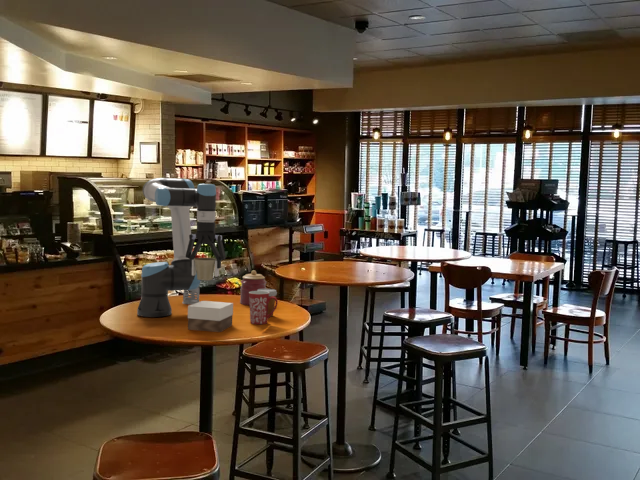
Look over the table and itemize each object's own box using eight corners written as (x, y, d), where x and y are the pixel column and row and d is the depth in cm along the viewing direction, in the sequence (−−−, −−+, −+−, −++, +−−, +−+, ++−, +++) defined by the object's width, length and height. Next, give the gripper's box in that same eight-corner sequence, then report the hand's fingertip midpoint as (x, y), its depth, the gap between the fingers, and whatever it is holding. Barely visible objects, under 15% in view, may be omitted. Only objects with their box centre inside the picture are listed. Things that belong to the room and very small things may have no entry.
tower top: (187, 318, 259) (187, 306, 259) (202, 312, 273) (202, 300, 273) (219, 320, 256) (219, 308, 256) (232, 314, 269) (233, 303, 269)
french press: (199, 305, 314) (200, 255, 312) (175, 304, 314) (176, 254, 312) (203, 302, 324) (203, 253, 322) (180, 301, 324) (181, 252, 322)
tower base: (188, 330, 259) (188, 318, 259) (201, 323, 273) (201, 312, 273) (220, 333, 257) (220, 320, 256) (232, 326, 270) (232, 314, 270)
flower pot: (221, 279, 264) (221, 259, 264) (205, 281, 256) (205, 260, 256) (204, 277, 269) (205, 257, 269) (188, 279, 261) (189, 258, 261)
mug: (245, 324, 273) (246, 293, 272) (250, 320, 282) (251, 290, 281) (274, 326, 271) (275, 294, 270) (278, 321, 280) (279, 291, 279)
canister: (262, 308, 313) (262, 272, 311) (236, 306, 315) (237, 271, 313) (268, 303, 325) (269, 269, 324) (244, 302, 328) (245, 268, 326)
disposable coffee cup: (273, 318, 287) (273, 292, 286) (253, 317, 289) (253, 290, 288) (278, 314, 297) (279, 289, 296) (259, 313, 298) (259, 288, 298)
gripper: (177, 220, 260) (176, 275, 261) (228, 222, 255) (227, 278, 257) (184, 220, 267) (184, 273, 269) (234, 222, 263) (233, 276, 264)
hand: (205, 275), depth 263 cm, fingers closed on flower pot, 9 cm apart
